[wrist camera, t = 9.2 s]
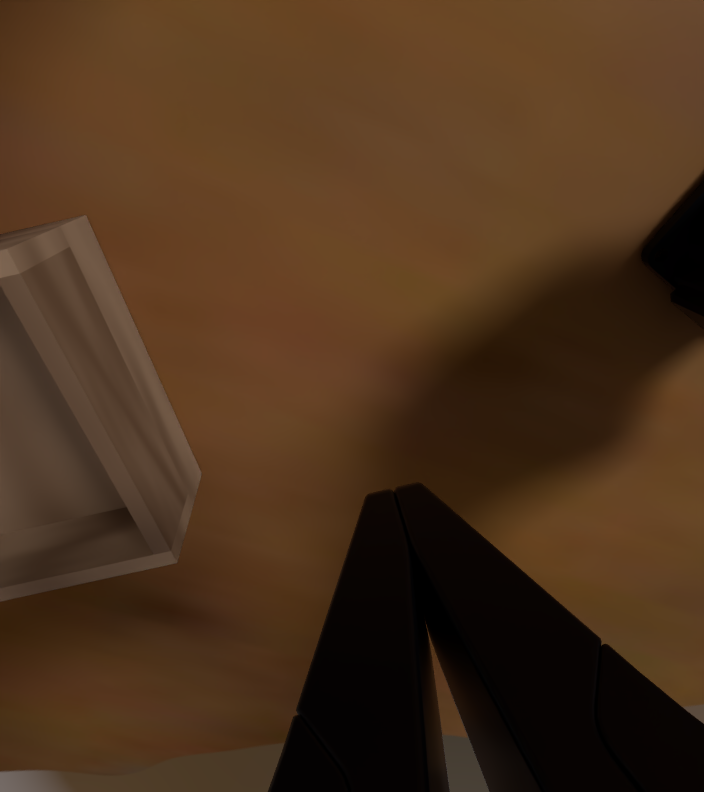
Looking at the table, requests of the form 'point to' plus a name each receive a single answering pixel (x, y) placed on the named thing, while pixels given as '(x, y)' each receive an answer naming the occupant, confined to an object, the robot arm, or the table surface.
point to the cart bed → (81, 423)
